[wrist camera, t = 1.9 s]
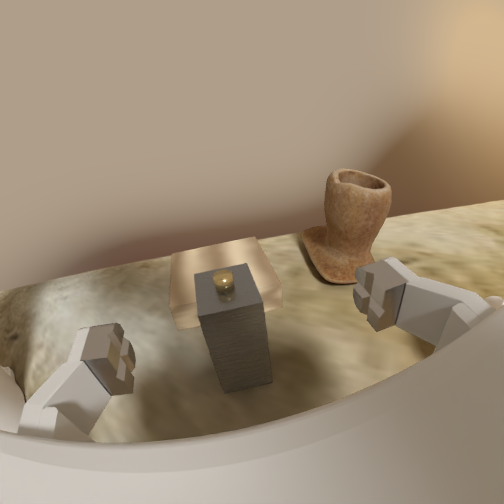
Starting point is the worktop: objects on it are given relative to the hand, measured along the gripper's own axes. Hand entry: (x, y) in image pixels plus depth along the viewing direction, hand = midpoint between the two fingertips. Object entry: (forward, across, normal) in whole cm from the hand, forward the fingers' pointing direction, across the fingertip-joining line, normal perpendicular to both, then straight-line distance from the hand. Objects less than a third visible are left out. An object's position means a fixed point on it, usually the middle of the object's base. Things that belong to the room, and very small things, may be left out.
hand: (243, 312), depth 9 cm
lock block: (+12, 0, +18) cm, 22 cm away
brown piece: (+27, -20, +19) cm, 39 cm away
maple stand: (+27, 0, +18) cm, 33 cm away
